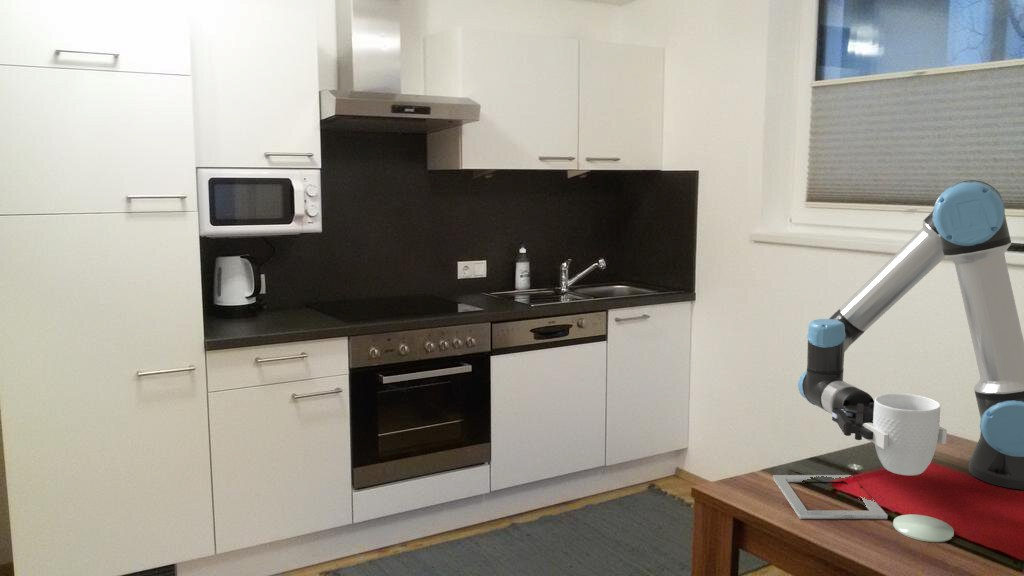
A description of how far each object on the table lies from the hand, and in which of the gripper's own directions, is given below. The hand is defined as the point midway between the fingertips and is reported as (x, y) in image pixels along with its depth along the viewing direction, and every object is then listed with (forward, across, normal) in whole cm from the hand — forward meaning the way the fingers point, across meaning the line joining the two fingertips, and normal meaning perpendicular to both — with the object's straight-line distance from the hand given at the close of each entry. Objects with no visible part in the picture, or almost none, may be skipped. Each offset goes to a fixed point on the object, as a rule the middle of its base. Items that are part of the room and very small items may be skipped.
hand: (915, 439), depth 143 cm
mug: (-4, 0, -7) cm, 8 cm away
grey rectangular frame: (-17, +7, -18) cm, 25 cm away
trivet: (0, -3, -18) cm, 18 cm away
